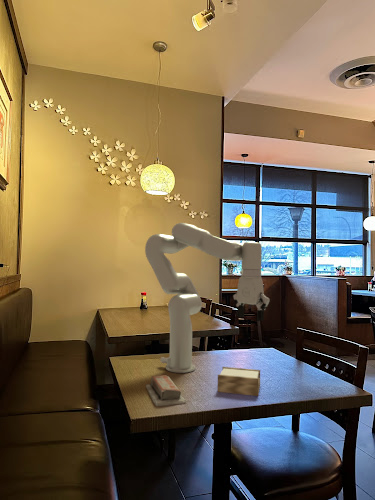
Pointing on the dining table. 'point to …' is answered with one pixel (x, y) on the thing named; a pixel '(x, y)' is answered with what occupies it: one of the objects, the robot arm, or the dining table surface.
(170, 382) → the packaged product
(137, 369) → the dining table surface
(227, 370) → the cover plate
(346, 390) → the dining table surface
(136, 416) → the dining table surface
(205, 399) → the dining table surface
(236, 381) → the box
